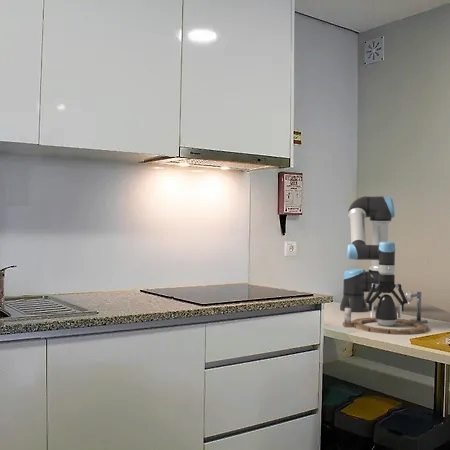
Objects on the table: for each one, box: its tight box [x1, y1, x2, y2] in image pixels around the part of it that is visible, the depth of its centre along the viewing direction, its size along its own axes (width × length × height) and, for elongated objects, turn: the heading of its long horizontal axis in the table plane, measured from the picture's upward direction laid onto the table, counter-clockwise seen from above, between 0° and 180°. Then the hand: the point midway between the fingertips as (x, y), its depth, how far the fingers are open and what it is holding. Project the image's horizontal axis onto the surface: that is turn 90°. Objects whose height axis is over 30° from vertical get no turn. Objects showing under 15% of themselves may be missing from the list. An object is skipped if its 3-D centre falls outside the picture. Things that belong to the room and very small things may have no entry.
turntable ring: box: [342, 308, 429, 335], centre depth 262 cm, size 34×38×8 cm
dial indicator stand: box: [404, 290, 428, 324], centre depth 274 cm, size 14×6×16 cm, turn 126°
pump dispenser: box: [374, 293, 398, 327], centre depth 267 cm, size 10×10×15 cm
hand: (385, 317), depth 267 cm, fingers open, 13 cm apart
